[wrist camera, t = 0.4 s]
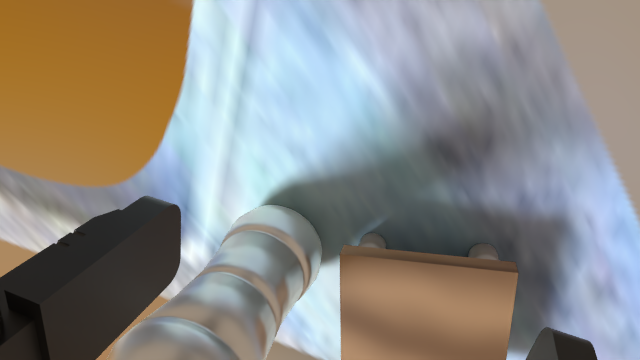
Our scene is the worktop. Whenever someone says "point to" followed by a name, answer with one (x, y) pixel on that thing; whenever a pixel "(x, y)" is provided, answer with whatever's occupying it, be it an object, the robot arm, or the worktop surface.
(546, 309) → the worktop surface
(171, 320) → the plastic bottle
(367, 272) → the pegged shelf
